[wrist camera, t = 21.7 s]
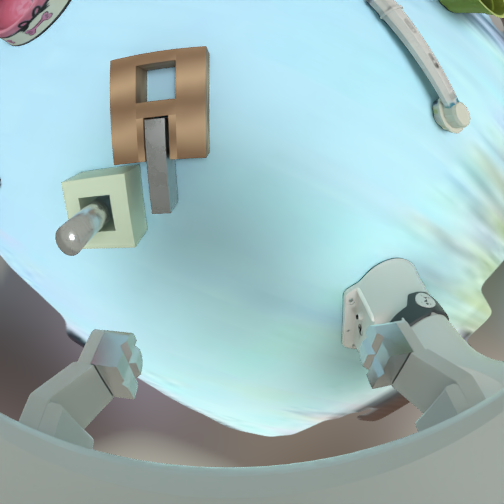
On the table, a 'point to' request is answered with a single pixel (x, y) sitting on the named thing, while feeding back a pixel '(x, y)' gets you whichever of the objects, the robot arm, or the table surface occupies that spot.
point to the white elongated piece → (425, 66)
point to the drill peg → (84, 225)
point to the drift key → (160, 166)
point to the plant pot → (476, 6)
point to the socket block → (160, 104)
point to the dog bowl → (28, 18)
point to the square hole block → (122, 203)
